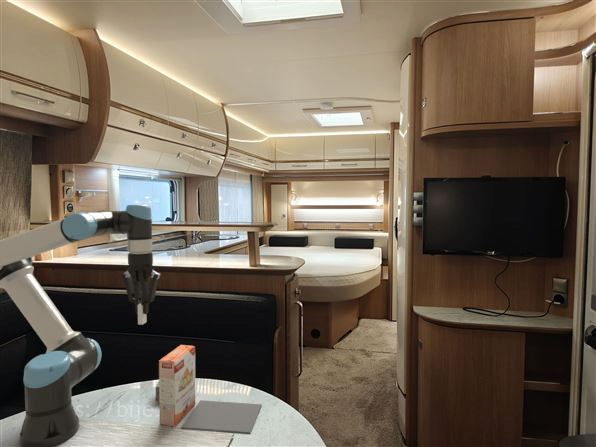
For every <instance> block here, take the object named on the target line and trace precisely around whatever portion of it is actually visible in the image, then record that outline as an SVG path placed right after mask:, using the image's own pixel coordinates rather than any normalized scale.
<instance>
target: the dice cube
mask: <svg viewBox="0 0 596 447" xmlns="http://www.w3.org/2000/svg"><path fill="white" fill-rule="evenodd" d="M155 401H156V402H157V401H158V402H159V380H157V383H156V385H155Z"/></svg>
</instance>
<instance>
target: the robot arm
mask: <svg viewBox="0 0 596 447" xmlns="http://www.w3.org/2000/svg"><path fill="white" fill-rule="evenodd" d="M152 225H153V216H152V208H151V206H150V205H149V204H128V205H126V208H125V210H104V209H103V210H96V211H95V210H94V211H89V212H87V211H86V212H85V211H79V212H74V213H70V214H68V215H67V216H66V217H65V218H62V219H59V220H55V221H54V222H49V223H47V224H43V225H41V226H38V227H36V228H31V229H29V230H26V231H23V232H20V233H17V234H15V235H11V236H8V237H5V238H2V239H0V289H4V290H5V291H6V293H7V295H9V297H10V299H11V300H12V301H13V303H14V304H15V305H16V307H17V308H18V309H19V311H20V312H21V314H22V315H23V317H24V318H26V320H27V322H28V323H29V324H30V327H32V329H33V330H34V331H35V333H36V335H37V336H38V337H39V339H40V340H41V341H42V342H43V344H44V346H46V352H45V353H44V354H39V355H37V356H35V357H34V358H32V359H31V360H30V361H29V362H27V363H26V365H25V366H24V369H23V379H22V381H23V387H24V403H25V404H24V405H25V406H24V407H25V416H24V420H23V423H22V425H21V430H20V433H19V437H18V438H19V445H20V446H21V447H54V446H57V445H59V444H62V443H64V442H66V441H67V440H69V439H71V438H72V437H73V436H74V435H75V434H76V433H78V431H79V428H80V419H79V416H78V415H77V414H76V411H75V408H74V406H73V403H72V401H73V400H72V388H73V387H74V386H76V385H77V384H79V383H80V382H81V381H83V380H84V379H85V378H86V377H88V376H90V375H91V374H92V373H93V372H94V371H95V370H96V369H97V368H98V367H99V365H100V364H101V361H102V350H101V347H100V345H99V343H98V342H97V341H96V340H94V339H93V338H89V337H85V336H84V335H83V334H82V332H81V331H74V330H73V329H72V328H71V326H70V325H69V324H68V322H67V321H66V319H65V317H64V316H63V315H62V314H61V312H60V311H59V309H58V308H57V307H56V305H55V304H54V302H53V301H52V299H51V298H50V296H48V293H46V291H45V289H43V287H42V286H41V284H40V283H39V282H38V280H37V278H36V277H35V276H34V274H33V273H34V269H35V267H34V266H33V261H34V260H33V258H34V257H35V256H38V255H41V254H44V253H47V252H50V251H53V250H56V249H58V248H61V247H65V246H68V245H70V244H73V243H74V244H75V243H78V242H80V241H83V240H87V239H90V238H95V237H101V236H106V235H107V236H108V235H121V234H122V235H126V237H127V238H126V239H127V244H126V245H127V246H126V247H127V252H128V254H127V264H128V267H127V270H126V271H125V272H123V273H120V277H121V278H122V280H123V282H124V287H125V291H126V294H127V298H128V302H130V303H133V304H134V305H135V306H134V309H135V314H136V315H137V325H139V326H140V325H142V326H143V325H144V324H146V323H147V321H148V320H147V317H148V316H147V314H149V312H150V309H149V304H150V303H151V302H154V301H155V297H156V292H157V289H158V288H157V287H158V282H159V280H160V278H161V276H162V274H161V272H157V271H155V268H154V265H153V263H154V254H153V252H152V251H153V226H152ZM150 278H151V280H150ZM149 282H150V284H149Z"/></svg>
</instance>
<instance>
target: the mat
mask: <svg viewBox="0 0 596 447" xmlns="http://www.w3.org/2000/svg"><path fill="white" fill-rule="evenodd" d="M262 404H263V403H261V404H260V403H245V402H232V401H231V402H229V401H215V400H203V399H201V400H199V402H198V403H197V404H195V407H194V408H193V409H192V411H191V413H190V414H189V416H188V417H187V418H186V419H185V421H184V423H182V425H181V426H180V429H184V430H185V429H186V430H199V431H201V430H202V431H214V432H222V433H223V432H225V433H239V434H251V433H252V431H253V427H254V426H255V423H256V420H257V418H258V415H259V413H260V410H261V409H262Z"/></svg>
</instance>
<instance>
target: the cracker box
mask: <svg viewBox="0 0 596 447" xmlns="http://www.w3.org/2000/svg"><path fill="white" fill-rule="evenodd" d="M158 381H159V401H158V402H159V425H160V426H161V425H162V426H170V427H176V426H177V425H178V424H179V423H180V422H181V420H182V419H184V417H185V416H186V415H187V414H188V413H189V411H190V410H191V409H192V408H193V407H194V406H196V346H194V345H189V344H188V345H186V344H180V345H179V346H177V347H176V348H174V349H173V350H171V351H170V352H169V353H167V355H165V356H163V357H162V358H161V359H160V360H158Z"/></svg>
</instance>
